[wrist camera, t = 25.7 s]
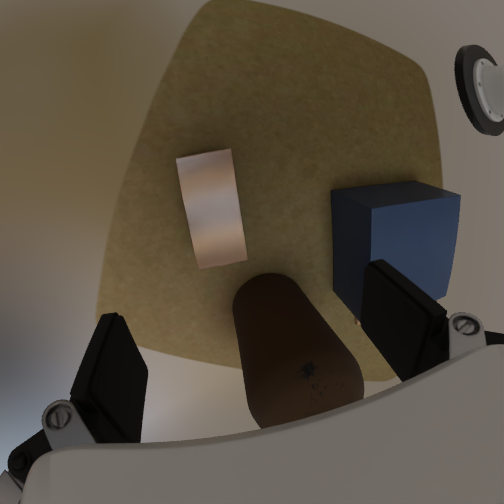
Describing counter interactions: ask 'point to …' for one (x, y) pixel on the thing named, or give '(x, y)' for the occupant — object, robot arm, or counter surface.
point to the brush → (212, 207)
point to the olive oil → (290, 354)
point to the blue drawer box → (393, 236)
